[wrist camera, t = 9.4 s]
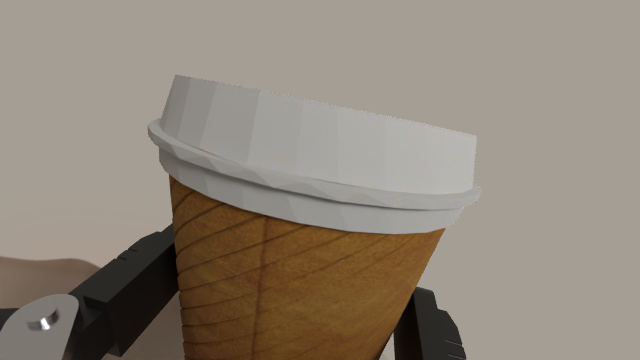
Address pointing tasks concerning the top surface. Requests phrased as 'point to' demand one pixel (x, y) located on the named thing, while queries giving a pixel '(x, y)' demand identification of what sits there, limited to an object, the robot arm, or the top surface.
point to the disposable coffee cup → (301, 219)
